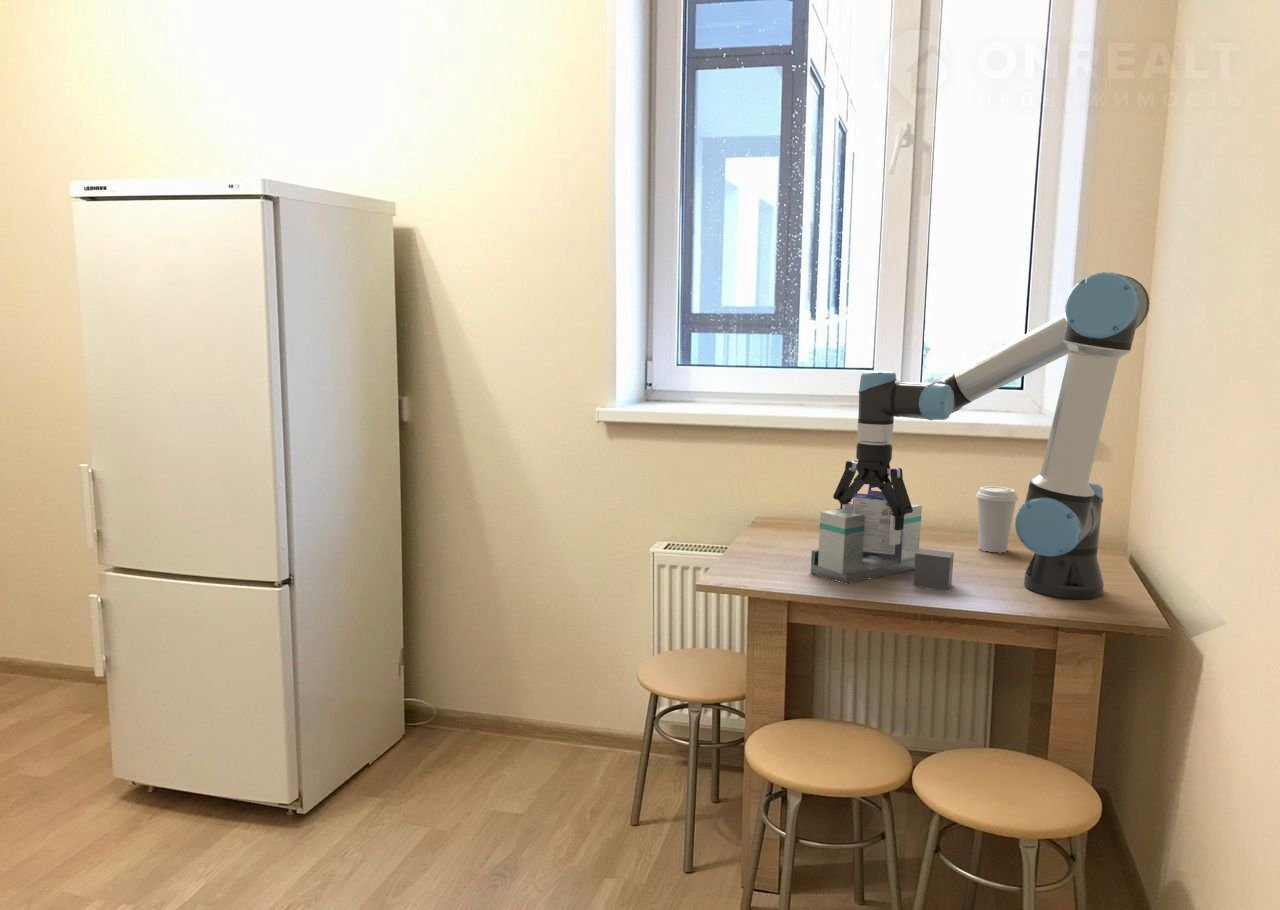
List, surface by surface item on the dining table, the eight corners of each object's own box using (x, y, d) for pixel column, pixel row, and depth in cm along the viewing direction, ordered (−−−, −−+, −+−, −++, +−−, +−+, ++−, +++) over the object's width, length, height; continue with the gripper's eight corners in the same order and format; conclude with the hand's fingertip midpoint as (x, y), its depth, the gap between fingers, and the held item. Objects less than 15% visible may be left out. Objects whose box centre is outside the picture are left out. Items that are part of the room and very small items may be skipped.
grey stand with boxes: (921, 567, 214) (925, 506, 212) (845, 584, 199) (849, 518, 197) (886, 557, 222) (889, 498, 219) (810, 572, 207) (813, 510, 205)
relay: (947, 590, 196) (950, 557, 195) (913, 585, 199) (915, 553, 198) (951, 584, 201) (953, 552, 200) (917, 580, 204) (919, 548, 203)
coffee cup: (984, 555, 226) (989, 493, 223) (964, 545, 235) (969, 485, 233) (1021, 554, 227) (1026, 492, 225) (1000, 544, 236) (1005, 485, 234)
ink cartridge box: (895, 549, 210) (900, 485, 208) (895, 555, 205) (901, 490, 202) (849, 544, 212) (854, 481, 210) (849, 551, 207) (854, 486, 204)
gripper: (933, 448, 198) (927, 547, 201) (842, 435, 218) (838, 525, 221) (910, 450, 194) (904, 552, 197) (820, 437, 214) (816, 529, 217)
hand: (869, 538), depth 209 cm, fingers open, 13 cm apart
